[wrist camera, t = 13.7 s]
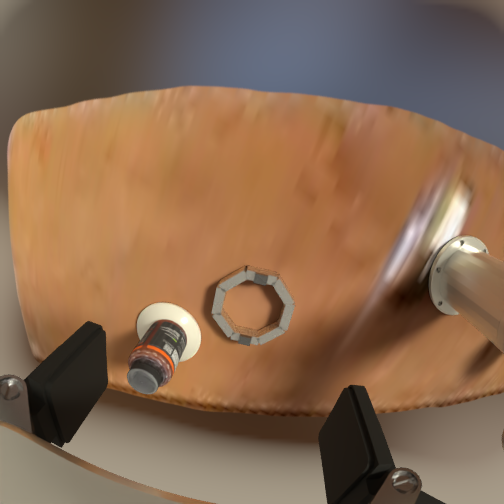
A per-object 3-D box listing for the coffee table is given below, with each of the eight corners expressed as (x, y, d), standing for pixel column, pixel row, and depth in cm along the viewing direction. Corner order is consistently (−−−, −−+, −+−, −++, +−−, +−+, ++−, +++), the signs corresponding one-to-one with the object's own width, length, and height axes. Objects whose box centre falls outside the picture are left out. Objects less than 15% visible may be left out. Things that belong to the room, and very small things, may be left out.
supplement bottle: (148, 343, 42) (117, 388, 31) (153, 311, 40) (119, 353, 29) (184, 357, 42) (161, 406, 31) (192, 325, 40) (168, 373, 29)
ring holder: (300, 277, 38) (302, 284, 36) (280, 342, 41) (280, 352, 39) (223, 259, 38) (220, 265, 36) (210, 326, 41) (206, 335, 38)
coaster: (206, 312, 40) (205, 314, 40) (196, 366, 43) (195, 369, 42) (140, 294, 40) (138, 295, 40) (137, 349, 43) (135, 351, 42)
